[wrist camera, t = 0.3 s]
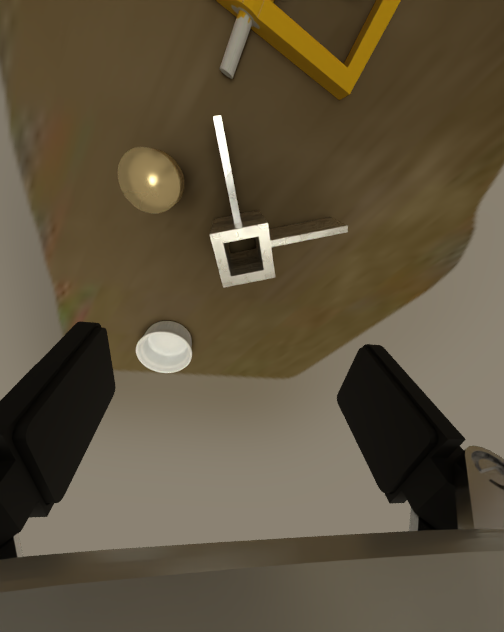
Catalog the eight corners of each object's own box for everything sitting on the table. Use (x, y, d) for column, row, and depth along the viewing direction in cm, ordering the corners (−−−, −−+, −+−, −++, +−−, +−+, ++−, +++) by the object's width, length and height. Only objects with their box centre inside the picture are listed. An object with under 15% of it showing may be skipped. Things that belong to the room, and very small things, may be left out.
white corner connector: (330, 101, 28) (367, 78, 21) (330, 241, 37) (357, 261, 29) (192, 130, 29) (179, 117, 21) (224, 262, 37) (223, 287, 30)
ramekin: (196, 320, 43) (193, 334, 39) (193, 358, 47) (190, 375, 43) (142, 314, 41) (133, 329, 37) (144, 355, 46) (137, 371, 42)
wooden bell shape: (186, 148, 30) (167, 140, 20) (198, 195, 32) (186, 207, 23) (144, 157, 30) (106, 153, 20) (160, 203, 33) (133, 218, 23)
